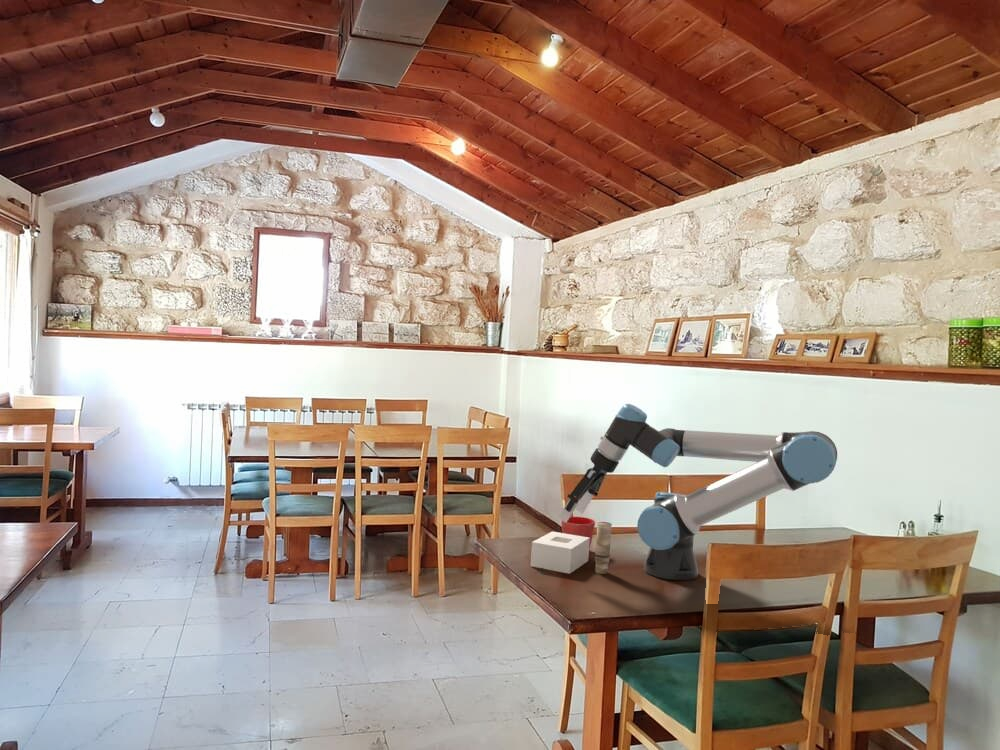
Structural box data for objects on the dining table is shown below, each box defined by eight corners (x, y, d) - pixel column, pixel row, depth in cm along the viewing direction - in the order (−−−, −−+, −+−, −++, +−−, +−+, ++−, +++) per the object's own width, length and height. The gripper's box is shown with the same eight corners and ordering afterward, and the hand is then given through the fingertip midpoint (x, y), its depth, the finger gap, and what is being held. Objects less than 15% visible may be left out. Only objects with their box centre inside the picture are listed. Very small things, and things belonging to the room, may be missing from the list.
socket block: (588, 560, 224) (589, 537, 224) (569, 573, 210) (571, 548, 209) (551, 554, 229) (552, 531, 229) (530, 566, 215) (531, 542, 215)
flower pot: (555, 552, 232) (557, 521, 231) (564, 544, 242) (565, 514, 242) (589, 557, 228) (591, 525, 228) (596, 549, 239) (598, 518, 238)
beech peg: (610, 571, 214) (613, 523, 213) (606, 575, 210) (609, 525, 210) (596, 569, 216) (599, 521, 215) (592, 572, 212) (595, 523, 212)
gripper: (610, 442, 223) (574, 500, 228) (582, 451, 201) (544, 515, 206) (631, 457, 221) (594, 515, 226) (605, 467, 198) (566, 531, 203)
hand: (570, 515), depth 216 cm, fingers open, 13 cm apart
